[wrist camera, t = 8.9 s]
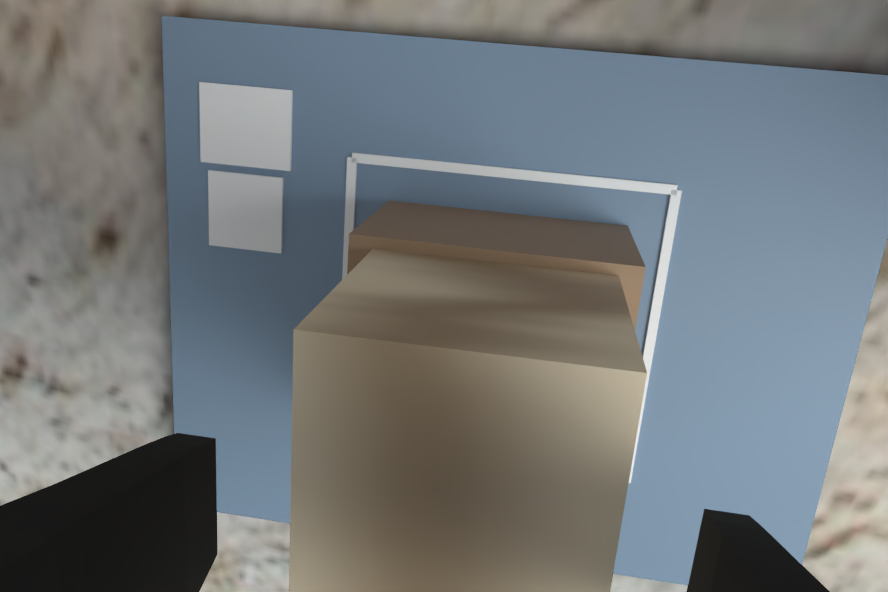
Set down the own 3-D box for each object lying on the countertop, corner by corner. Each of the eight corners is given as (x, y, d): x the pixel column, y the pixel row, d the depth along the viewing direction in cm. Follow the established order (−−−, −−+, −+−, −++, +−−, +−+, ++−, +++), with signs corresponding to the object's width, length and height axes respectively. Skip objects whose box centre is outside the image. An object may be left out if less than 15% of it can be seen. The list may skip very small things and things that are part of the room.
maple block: (618, 275, 15) (646, 373, 10) (585, 495, 17) (596, 667, 12) (373, 248, 16) (293, 329, 11) (362, 463, 17) (288, 616, 13)
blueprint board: (909, 77, 18) (1036, 83, 13) (781, 578, 22) (842, 718, 17) (180, 17, 20) (62, 4, 15) (191, 488, 24) (102, 592, 19)
